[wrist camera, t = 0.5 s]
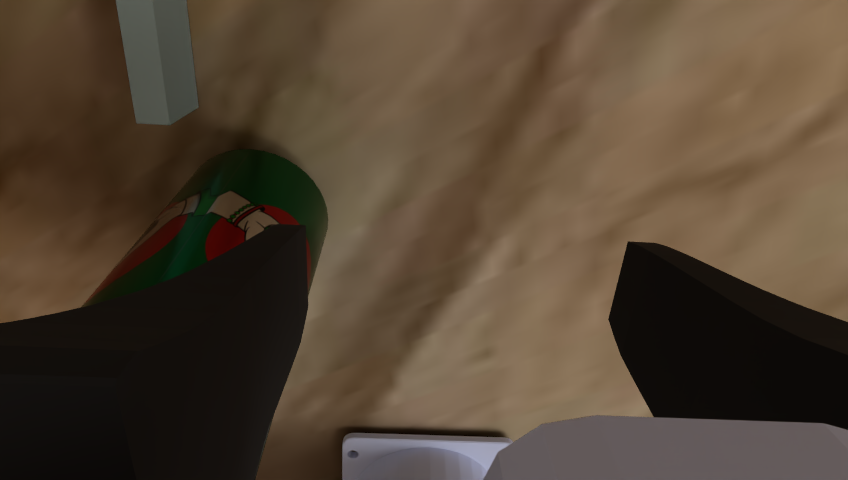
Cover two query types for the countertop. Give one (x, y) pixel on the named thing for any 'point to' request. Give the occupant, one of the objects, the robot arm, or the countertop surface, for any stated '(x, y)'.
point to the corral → (158, 59)
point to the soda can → (221, 220)
